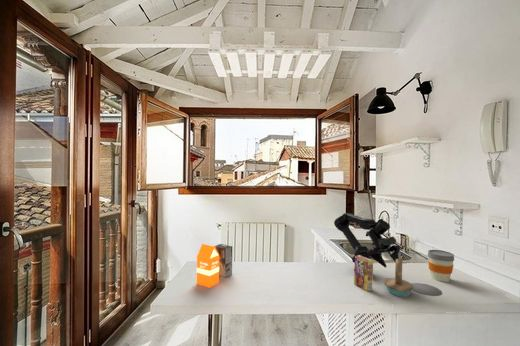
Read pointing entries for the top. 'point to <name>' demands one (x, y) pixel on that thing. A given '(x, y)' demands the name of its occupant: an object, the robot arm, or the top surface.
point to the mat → (426, 289)
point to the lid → (398, 279)
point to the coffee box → (224, 259)
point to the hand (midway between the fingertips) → (392, 266)
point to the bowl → (398, 292)
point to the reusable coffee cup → (440, 265)
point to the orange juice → (207, 266)
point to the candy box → (363, 272)
